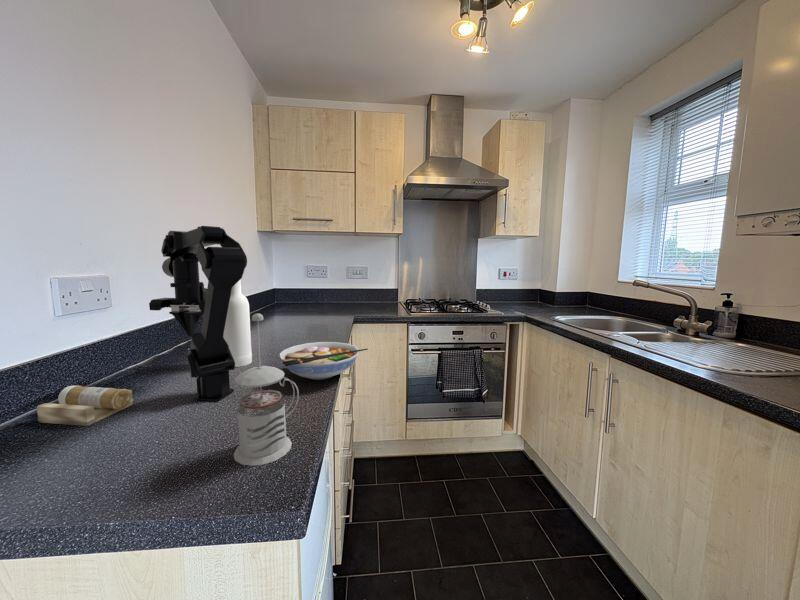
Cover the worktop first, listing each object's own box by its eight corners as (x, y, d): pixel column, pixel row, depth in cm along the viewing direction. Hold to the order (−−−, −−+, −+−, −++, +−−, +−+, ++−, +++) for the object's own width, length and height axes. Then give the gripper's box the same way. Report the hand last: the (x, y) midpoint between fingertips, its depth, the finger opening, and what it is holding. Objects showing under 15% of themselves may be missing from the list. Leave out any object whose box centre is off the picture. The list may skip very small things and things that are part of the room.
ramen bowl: (341, 358, 112) (341, 335, 111) (377, 378, 94) (377, 351, 93) (266, 372, 97) (265, 346, 96) (290, 399, 79) (289, 367, 78)
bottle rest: (133, 404, 76) (131, 390, 75) (87, 426, 66) (85, 409, 65) (89, 401, 77) (88, 387, 76) (38, 422, 67) (36, 406, 67)
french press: (225, 447, 59) (217, 312, 56) (286, 425, 67) (282, 306, 64) (245, 473, 52) (236, 321, 49) (310, 445, 60) (307, 312, 57)
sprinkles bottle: (135, 399, 74) (82, 396, 76) (127, 384, 72) (74, 381, 74) (117, 414, 70) (62, 410, 72) (109, 398, 68) (52, 394, 70)
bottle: (251, 365, 103) (246, 272, 99) (223, 368, 100) (217, 272, 96) (252, 358, 111) (248, 271, 107) (226, 361, 108) (221, 271, 104)
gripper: (237, 277, 93) (240, 330, 95) (178, 276, 95) (182, 328, 97) (211, 280, 82) (214, 339, 84) (145, 279, 84) (150, 337, 86)
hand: (191, 335), depth 88 cm, fingers closed
